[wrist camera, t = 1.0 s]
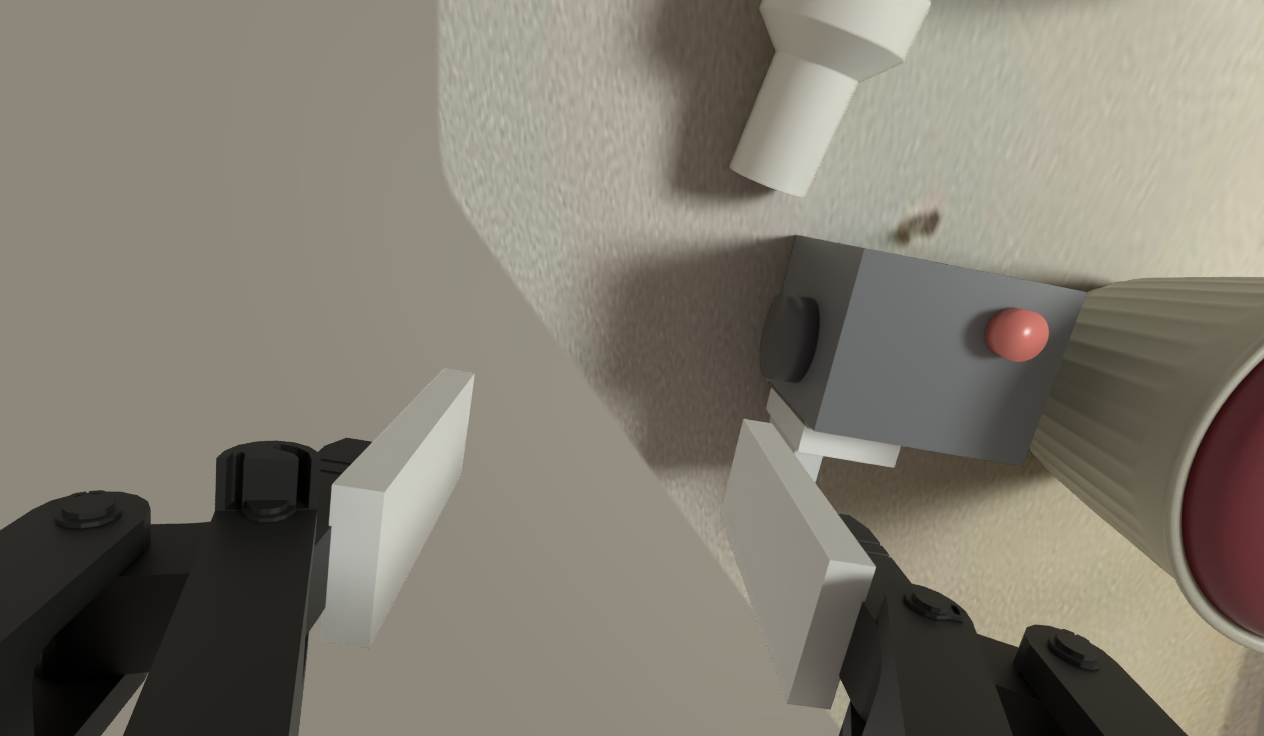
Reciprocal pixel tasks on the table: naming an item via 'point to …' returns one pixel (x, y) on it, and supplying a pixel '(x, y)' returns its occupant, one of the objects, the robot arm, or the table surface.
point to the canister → (1171, 434)
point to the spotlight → (818, 80)
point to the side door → (823, 440)
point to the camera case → (915, 350)
